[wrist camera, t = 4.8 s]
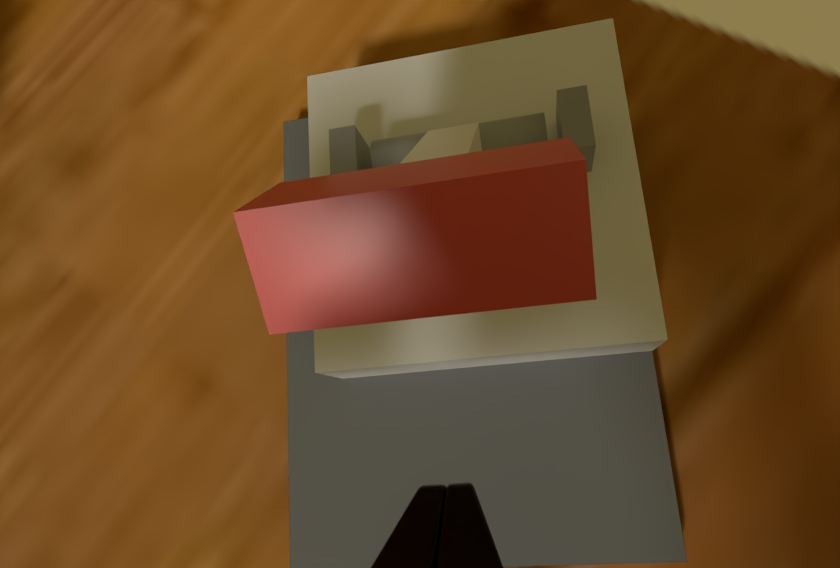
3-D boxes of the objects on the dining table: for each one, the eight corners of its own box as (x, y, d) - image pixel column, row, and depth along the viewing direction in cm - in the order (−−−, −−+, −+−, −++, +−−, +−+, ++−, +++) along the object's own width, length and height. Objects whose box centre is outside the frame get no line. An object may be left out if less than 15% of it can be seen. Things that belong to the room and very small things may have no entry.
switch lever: (548, 165, 18) (596, 299, 8) (386, 189, 19) (269, 334, 9) (540, 96, 17) (586, 159, 8) (373, 124, 18) (233, 211, 9)
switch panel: (679, 554, 18) (730, 605, 13) (302, 565, 20) (221, 612, 15) (602, 80, 22) (619, -22, 17) (294, 133, 24) (227, 58, 19)
